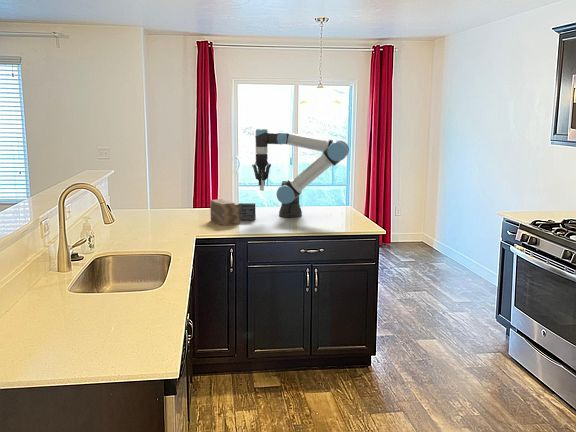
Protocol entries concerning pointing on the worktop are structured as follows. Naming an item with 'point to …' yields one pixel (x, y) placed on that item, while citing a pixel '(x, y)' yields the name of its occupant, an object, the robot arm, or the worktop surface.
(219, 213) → the brown patterned block
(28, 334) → the worktop surface
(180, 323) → the worktop surface
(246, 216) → the small box
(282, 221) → the worktop surface
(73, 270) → the worktop surface
